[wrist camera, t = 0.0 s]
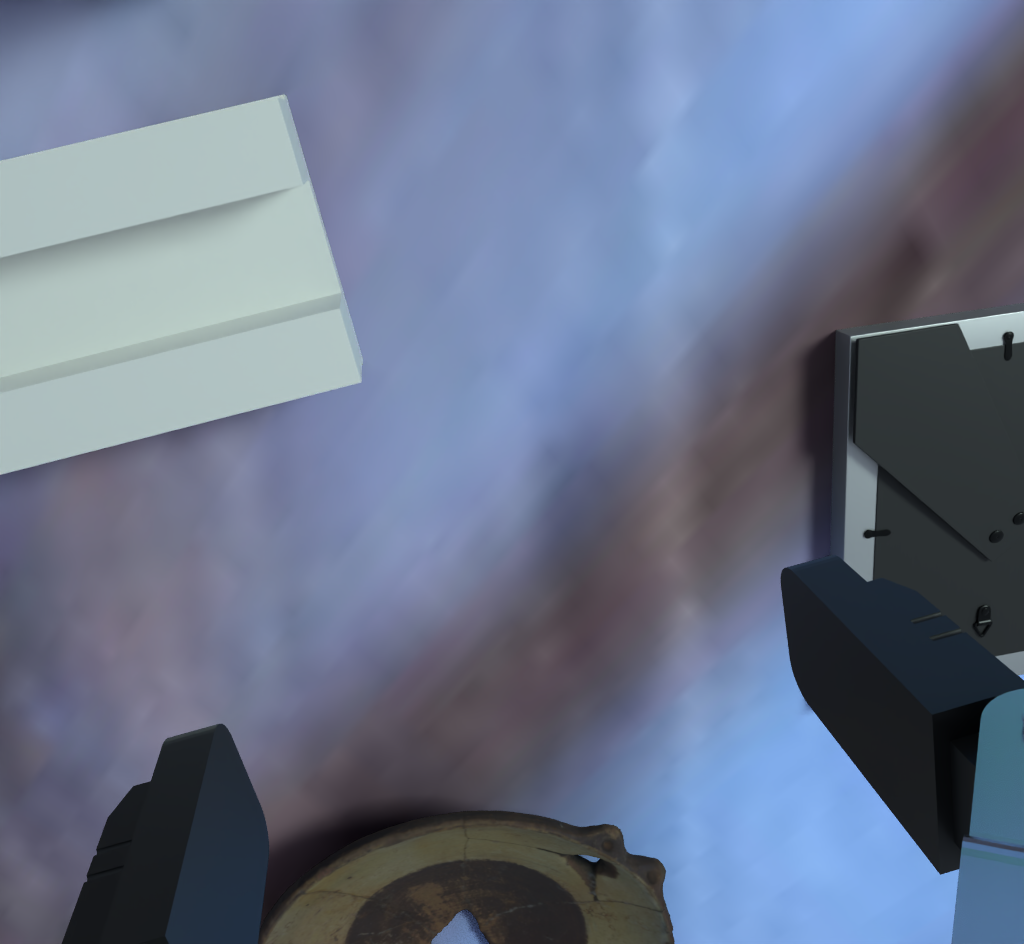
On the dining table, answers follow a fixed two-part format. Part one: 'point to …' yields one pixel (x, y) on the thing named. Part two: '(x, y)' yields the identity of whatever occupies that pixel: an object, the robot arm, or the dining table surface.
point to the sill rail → (163, 284)
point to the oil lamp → (478, 886)
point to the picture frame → (936, 465)
